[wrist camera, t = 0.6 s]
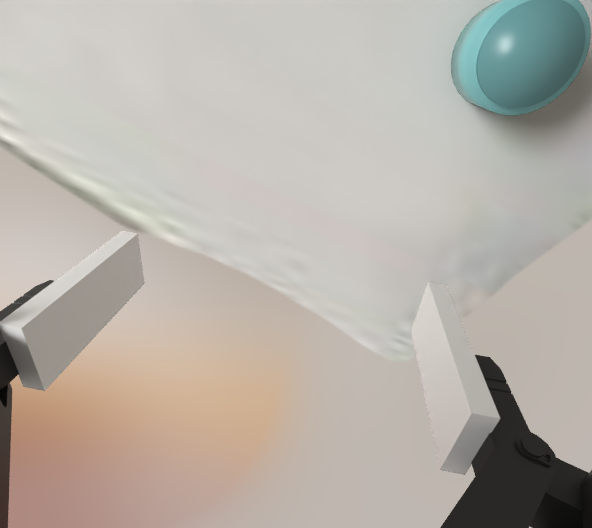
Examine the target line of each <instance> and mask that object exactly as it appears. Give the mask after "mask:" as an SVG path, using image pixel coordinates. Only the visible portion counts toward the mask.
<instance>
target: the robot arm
mask: <svg viewBox="0 0 592 528" xmlns="http://www.w3.org/2000/svg"><path fill="white" fill-rule="evenodd" d="M143 284H144V277H143V270H142V262H141V255H140V247H139V239H138V234H137V233H131V232H124V231H121V232H120V233H119V234H117V235H116V236H114V237H113V238H112V239H110V240H109V241H108V242H106V243H105V244H104V245H102V246H101V247H100V248H98V249H97V250H96V251H94V252H93V253H92V254H90V255H89V256H88V257H86V258H85V259H84V260H82V261H81V262H80V263H78V264H77V265H75V266H74V267H73V268H71V269H70V270H69V271H68V272H66V273H65V274H63V275H62V276H61V277H59V278H58V279H57V280H55V281H52V280H49V281H47V282H45V283H43V284H40V285H38V286H35V287H34V288H33V289H31V290H30V291H28V292H27V293H25V294H24V296H23V297H20V298H18V299H17V300H16V301H14V303H12V304H10V305H9V306H7V307H6V308H5V309H3V310H2V311H0V528H8V501H9V471H10V440H11V410H12V388H11V385H10V381H12V380H13V379H14V378H15V377H16V376H17V375H19V377H20V380H21V382H22V384H23V386H24V387H28V388H33V389H38V390H43V391H45V390H46V389H47V388H48V387H49V385H51V383H52V382H53V381H54V380H55V379H56V378H57V377H58V376H59V375H60V374H61V373H62V372H63V371H64V369H65V368H66V367H67V366H68V365H69V364H70V363H71V362H72V361H73V360H74V359H75V358H76V356H78V354H79V353H80V352H81V351H82V350H83V349H84V348H85V347H86V346H87V345H88V344H89V343H90V341H91V340H92V339H93V338H94V337H95V336H96V335H97V334H98V333H99V332H100V331H101V330H102V329H103V328H104V326H105V325H106V324H107V323H108V322H109V321H110V320H111V319H112V318H113V317H114V316H115V314H117V312H118V311H119V310H120V309H121V308H122V307H123V306H124V305H125V304H126V303H127V302H128V301H129V299H130V298H131V297H132V296H133V295H134V294H135V293H136V292H137V291H138V290H139V289H140V288H141V286H142V285H143ZM411 333H412V338H413V342H414V347H415V352H416V357H417V362H418V366H419V371H420V376H421V381H422V386H423V391H424V395H425V400H426V405H427V410H428V415H429V419H430V424H431V429H432V434H433V439H434V444H435V448H436V453H437V458H438V462H439V468H440V470H443V471H448V472H453V473H459V474H464V475H465V474H466V472H467V470H468V469H469V467H470V466H471V464H472V466H473V469H474V472H475V476H476V477H475V478H474V480H473V481H472V482H471V484H470V485H469V487H468V488H467V490H466V491H465V493H464V494H463V496H462V497H461V499H460V500H459V501H458V503H457V504H456V506H455V507H454V509H453V510H452V512H451V513H450V515H449V516H448V517H447V519H446V520H445V522H444V523H443V525H442V526H441V528H529V526H530V527H532V528H592V470H591V472H590V473H588V472H586V471H583V470H581V469H579V468H577V467H574V466H572V465H570V464H568V463H566V462H564V461H562V460H560V459H558V458H556V457H555V454H554V452H553V451H552V449H551V448H550V447H549V446H548V444H547V443H546V442H544V441H543V440H542V439H541V438H539V437H538V436H537V435H535V434H533V433H531V432H530V430H529V429H528V426H527V424H526V422H525V420H524V418H523V416H522V413H521V411H520V409H519V407H518V405H517V403H516V401H515V399H514V396H513V395H512V394H511V390H510V388H509V386H508V384H506V379H505V377H504V375H503V373H502V371H501V369H500V368H499V367H498V366H497V365H496V364H495V363H494V361H493V360H492V359H491V358H490V357H485V356H479V355H475V354H474V352H473V350H472V347H471V345H470V342H469V340H468V337H467V335H466V332H465V330H464V327H463V325H462V322H461V320H460V317H459V315H458V312H457V310H456V307H455V305H454V302H453V300H452V297H451V295H450V293H449V290H448V288H447V285H444V284H438V283H432V282H428V284H427V287H426V290H425V293H424V296H423V298H422V301H421V304H420V307H419V309H418V312H417V315H416V318H415V321H414V323H413V326H412V329H411Z"/></svg>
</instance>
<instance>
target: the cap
mask: <svg viewBox="0 0 592 528" xmlns="http://www.w3.org/2000/svg"><path fill="white" fill-rule="evenodd" d="M590 36H591V33H590V22H589V18H588V15H587V12H586V10H585V8H584V6H583V5H582V4H581V2H580V1H579V0H501V1H499V2H496V3H494V4H492V5H490V6H488V7H486V8H485V9H483V10H482V11H481V12H479V13H478V14H477V15H476V16H475V17H474V18H472V19H471V21H470V22H469V23H468V24H467V25H466V27H465V28H464V29H463V31H462V32H461V34H460V36H459V38H458V40H457V42H456V44H455V47H454V50H453V54H452V60H451V74H452V79H453V82H454V85H455V87H456V89H457V91H458V92H459V93H460V95H461V96H462V97H463V98H464V99H466V100H467V101H469V102H470V103H472V104H475V105H477V106H480V107H482V108H485V109H487V110H490V111H492V112H495V113H498V114H502V115H521V114H525V113H529V112H532V111H535V110H537V109H539V108H541V107H543V106H545V105H547V104H548V103H550V102H551V101H553V100H554V99H556V98H557V97H558V96H559V95H560V94H561V93H563V92H564V91H565V90H566V88H567V87H568V86H569V85H570V84H571V83H572V81H573V80H574V79H575V77H576V76H577V74H578V73H579V71H580V69H581V67H582V65H583V63H584V61H585V58H586V56H587V53H588V49H589V45H590Z"/></svg>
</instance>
